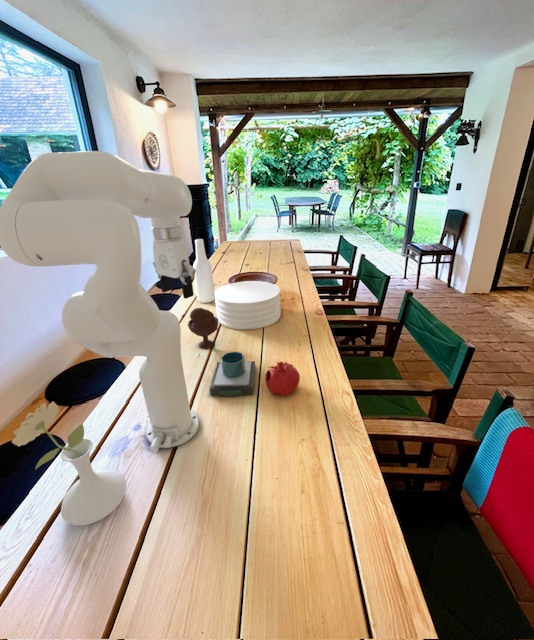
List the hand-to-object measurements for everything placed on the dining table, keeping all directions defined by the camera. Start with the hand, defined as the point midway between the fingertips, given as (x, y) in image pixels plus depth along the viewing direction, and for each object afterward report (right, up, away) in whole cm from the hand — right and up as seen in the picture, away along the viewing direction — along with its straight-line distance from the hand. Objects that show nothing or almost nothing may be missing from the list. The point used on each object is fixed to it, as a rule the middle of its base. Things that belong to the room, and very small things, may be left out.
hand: (177, 293), depth 93 cm
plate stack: (+18, -6, +50) cm, 53 cm away
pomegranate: (+30, -28, +1) cm, 41 cm away
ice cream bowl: (+3, -17, +26) cm, 32 cm away
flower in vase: (-8, -43, -31) cm, 54 cm away
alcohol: (-5, +2, +69) cm, 70 cm away
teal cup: (+16, -23, +4) cm, 28 cm away
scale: (+16, -26, +5) cm, 31 cm away
